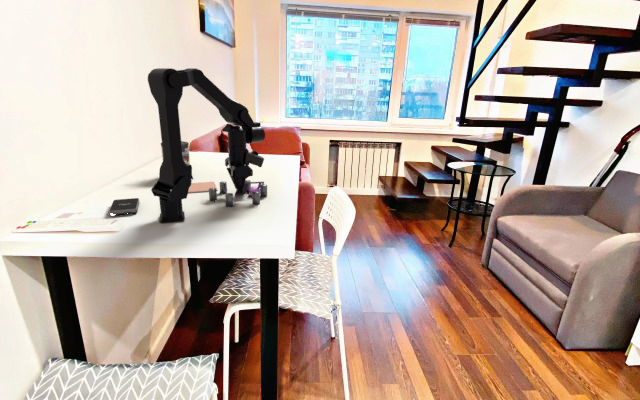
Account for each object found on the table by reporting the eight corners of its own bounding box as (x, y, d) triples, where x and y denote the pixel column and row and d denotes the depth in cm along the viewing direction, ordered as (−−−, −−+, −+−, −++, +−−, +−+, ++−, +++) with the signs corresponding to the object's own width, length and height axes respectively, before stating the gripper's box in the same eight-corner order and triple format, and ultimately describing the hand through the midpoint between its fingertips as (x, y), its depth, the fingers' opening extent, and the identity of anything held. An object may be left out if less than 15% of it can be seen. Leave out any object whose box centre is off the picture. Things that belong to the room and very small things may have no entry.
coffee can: (195, 175, 146) (193, 141, 142) (182, 181, 136) (179, 145, 132) (173, 173, 148) (170, 140, 143) (158, 179, 138) (154, 143, 134)
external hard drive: (109, 217, 98) (108, 211, 97) (114, 205, 108) (113, 199, 107) (137, 215, 101) (136, 208, 100) (139, 203, 110) (139, 197, 110)
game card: (234, 192, 122) (258, 190, 127) (237, 204, 120) (262, 202, 125) (238, 180, 117) (263, 179, 122) (242, 193, 115) (267, 191, 120)
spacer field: (273, 203, 114) (273, 191, 113) (212, 208, 107) (211, 196, 106) (261, 189, 129) (261, 179, 128) (207, 193, 122) (206, 182, 121)
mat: (217, 191, 125) (217, 190, 125) (188, 193, 121) (187, 192, 121) (214, 183, 135) (214, 181, 135) (186, 184, 132) (186, 183, 131)
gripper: (268, 149, 107) (268, 197, 112) (255, 140, 124) (256, 182, 129) (232, 150, 103) (233, 200, 108) (223, 141, 120) (225, 184, 124)
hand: (238, 191), depth 117 cm, fingers open, 5 cm apart
